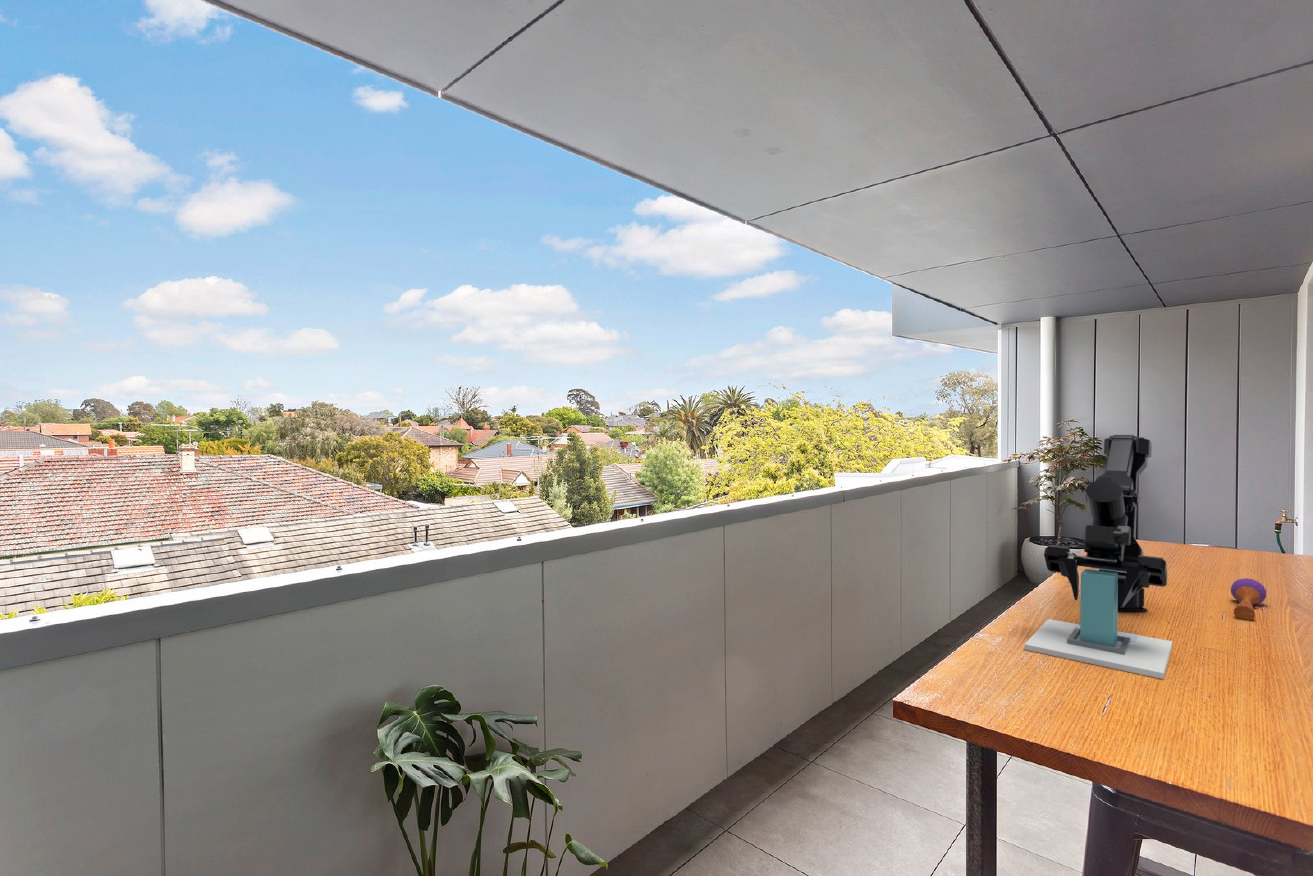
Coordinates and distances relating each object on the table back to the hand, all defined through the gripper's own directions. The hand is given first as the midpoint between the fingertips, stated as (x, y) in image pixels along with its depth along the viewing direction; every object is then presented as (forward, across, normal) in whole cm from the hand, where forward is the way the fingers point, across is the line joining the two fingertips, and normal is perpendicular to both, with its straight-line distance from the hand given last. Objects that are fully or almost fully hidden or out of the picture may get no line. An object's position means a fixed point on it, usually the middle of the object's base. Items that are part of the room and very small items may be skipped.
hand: (1097, 602), depth 114 cm
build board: (+5, 0, +7) cm, 9 cm away
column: (+5, 0, +6) cm, 8 cm away
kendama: (-30, +20, +43) cm, 56 cm away
